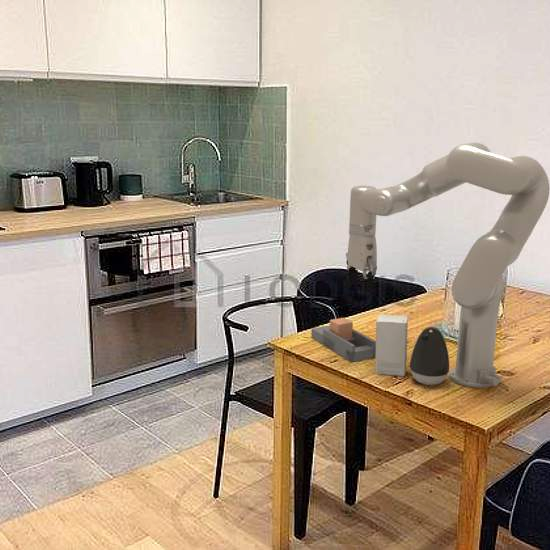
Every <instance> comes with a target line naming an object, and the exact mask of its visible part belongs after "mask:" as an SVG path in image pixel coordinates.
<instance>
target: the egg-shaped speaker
mask: <svg viewBox="0 0 550 550" xmlns="http://www.w3.org/2000/svg"><path fill="white" fill-rule="evenodd" d="M449 356H450V355H449V349H448V347H447V343H446V339H445V336H444V335H443V333H442V331H441V330H440V329H439V328H437V327H435V326H428V327H425V328H424V329H423V330H422V331H421V332H420V333H419V335H418V337H417V339H416V341H415V344H414V346H413V349H412V352H411V357H410V361H409V369H410V371H411V374H412V375H411V376H412V377H413V378H414V379H415V381H417V382H418V383H419V384H422V385H426V386H435V385H440V384H441V383H442V382H444V381H445V379H446V378H447V376H448V374H449V371H450V357H449Z"/></svg>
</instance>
